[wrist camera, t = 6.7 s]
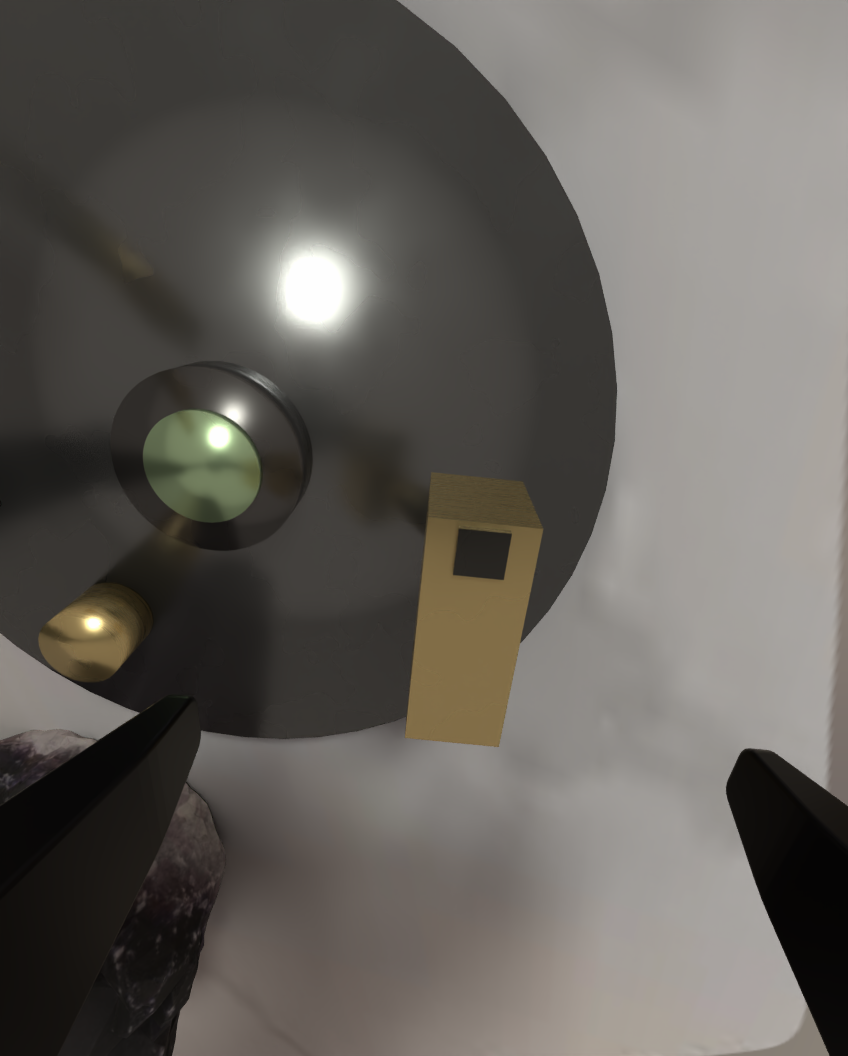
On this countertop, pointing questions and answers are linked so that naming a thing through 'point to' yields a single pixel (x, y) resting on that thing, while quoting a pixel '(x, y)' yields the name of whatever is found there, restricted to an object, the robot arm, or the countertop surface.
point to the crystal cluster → (137, 916)
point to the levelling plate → (272, 347)
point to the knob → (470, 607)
